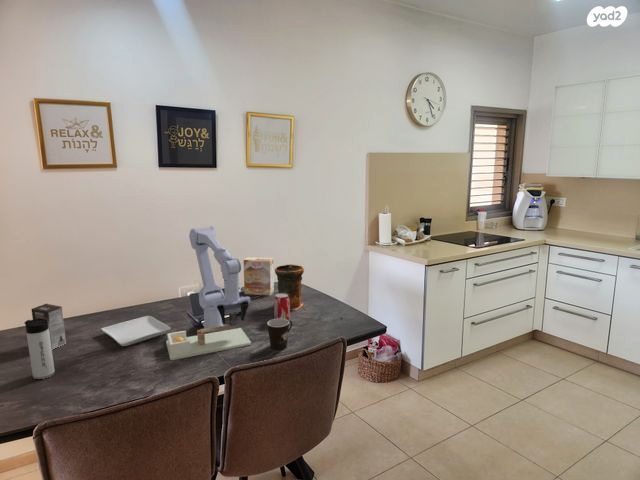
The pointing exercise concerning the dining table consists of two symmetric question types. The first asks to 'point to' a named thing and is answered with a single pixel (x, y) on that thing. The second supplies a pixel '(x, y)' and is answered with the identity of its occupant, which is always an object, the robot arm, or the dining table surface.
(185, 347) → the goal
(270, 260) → the coffeecake box
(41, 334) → the travel mug
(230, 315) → the striker rod
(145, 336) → the salad plate
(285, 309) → the soda can
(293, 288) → the vessel
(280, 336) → the coffee mug
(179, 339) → the ball
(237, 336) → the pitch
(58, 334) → the coffee box
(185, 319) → the dining table surface
